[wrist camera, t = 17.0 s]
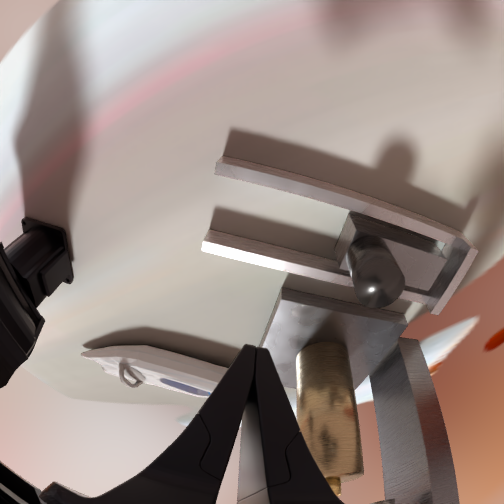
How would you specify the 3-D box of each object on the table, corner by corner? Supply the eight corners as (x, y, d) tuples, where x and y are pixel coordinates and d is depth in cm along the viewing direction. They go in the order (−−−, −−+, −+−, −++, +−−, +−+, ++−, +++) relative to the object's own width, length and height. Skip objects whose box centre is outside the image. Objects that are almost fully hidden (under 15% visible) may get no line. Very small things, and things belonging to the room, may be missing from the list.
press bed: (249, 369, 29) (221, 556, 11) (281, 287, 23) (257, 580, 5) (376, 386, 30) (392, 544, 12) (433, 319, 23) (491, 517, 5)
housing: (286, 353, 25) (282, 497, 13) (338, 334, 23) (355, 487, 12) (309, 378, 27) (310, 502, 15) (354, 362, 25) (371, 492, 14)
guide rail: (207, 238, 21) (197, 260, 19) (222, 155, 18) (212, 166, 15) (426, 292, 22) (438, 315, 19) (460, 232, 18) (478, 251, 16)
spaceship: (249, 349, 27) (244, 386, 23) (254, 383, 31) (250, 416, 27) (70, 328, 30) (54, 353, 26) (91, 360, 34) (79, 384, 30)
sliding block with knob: (334, 249, 21) (347, 302, 16) (348, 213, 19) (370, 260, 14) (417, 272, 21) (444, 322, 16) (434, 242, 19) (468, 288, 14)
